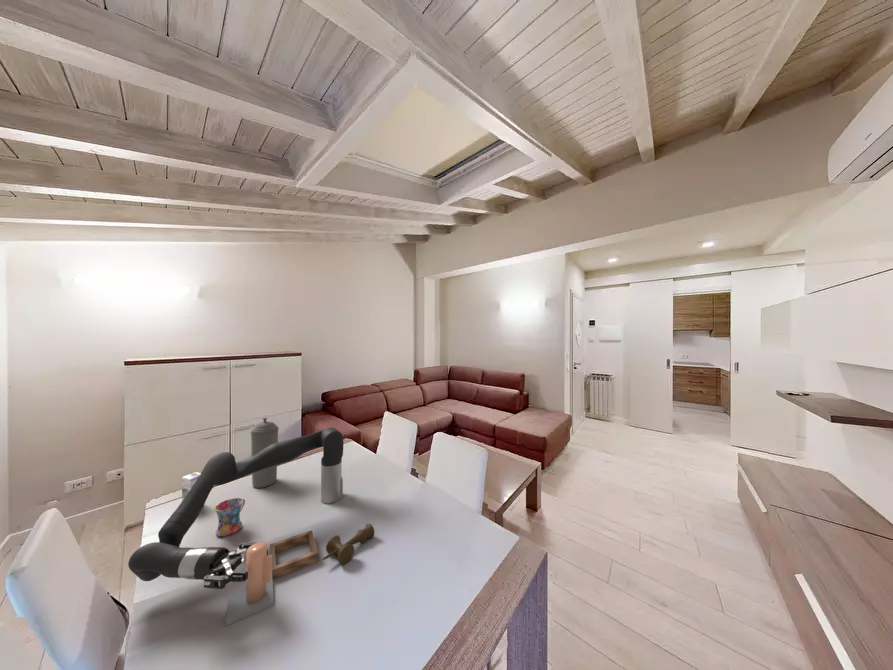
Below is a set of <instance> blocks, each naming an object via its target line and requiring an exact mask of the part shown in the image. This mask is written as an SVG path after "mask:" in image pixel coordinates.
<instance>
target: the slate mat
mask: <svg viewBox="0 0 893 670" xmlns="http://www.w3.org/2000/svg"><path fill="white" fill-rule="evenodd" d="M273 580H274V579H272V580H271V581H270V583H268V582H267V592H266V595H265V596H264V597H263V598H262V599H261V600H260V601H258V602H256V603H252V604H250V603H247V601H246V589H243V590H241V591H240V592H236V593H234V594H230V595H229V596H228V602H227V610H226V618H225V626H229V625H231V624H234V623H236V622H239V621H241V620H242V619H243V620H244V619H246V618H248V617H250V616H251V615H254V614H257V613H259V612H261V611H264V610H266V609H268V608H270V607H273V606H274V604H275V603H274V602H275V601H274V598H275V597H274V581H273Z"/></svg>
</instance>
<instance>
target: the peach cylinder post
mask: <svg viewBox="0 0 893 670" xmlns="http://www.w3.org/2000/svg"><path fill="white" fill-rule="evenodd" d="M267 549H268V544H267V543H266V542H265V541H259V542H258V543H256V544H253V545H252V546H250V547H249V548H248V549H247V560H246V562H245V564H246V569H245V570H246V571H247V572H248V579H247V580H246V581H245V582H246V584H245V585H246V588H245V590H246V601H247V603H250V604H252V603H256V602H258V601H260V600H261V599H262V598H263V597H264V596H265V595H266V592H267V582H268V583H270V581H271V580H272V555H270V554H268V555H267Z"/></svg>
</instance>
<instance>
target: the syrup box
mask: <svg viewBox="0 0 893 670" xmlns="http://www.w3.org/2000/svg"><path fill="white" fill-rule="evenodd" d="M200 474H201V472H196V471H193V472H192V473H189V474H186V475H184V476H182V478H181V502H182V501H183V500H184V498H185V497H186V496H187V494H188V493H189V491H190V490H191V488H192V487H193V485H194V484H195V482H196V480H197V479H198V477H199V476H200Z"/></svg>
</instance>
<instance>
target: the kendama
mask: <svg viewBox="0 0 893 670" xmlns="http://www.w3.org/2000/svg"><path fill="white" fill-rule="evenodd" d="M374 537H375V528H374V527H373V525H372V524H371V523H367V524H366V525H365V527H364V528H363V529H358V530H357V533H356V534H355V535H354V536H353V537H352V538H350V539H349V540H348V541H347V542H346V543H344V544H343V543H342V542H341V541H342V540H341V537H340V536H339V535H334V536H332V537H331V538H329V539H328V541H327V543H326V545H325V546H326V547H325V549H326V553H327V555H326V556H324V557H323V558H322V560H323V561H324V560H325V561H326V560H327V559H329V558H330V557H332V556H334V555H337V556H338V563H339V564H340V565H341V566H345V565H346V564H348V563H349V562H350V561H351V560H352V559H353V557H354V554H355V546H354V545H355V544H358V543H361V544H363V543H365V542H366V540H367V539H373V538H374Z"/></svg>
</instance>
